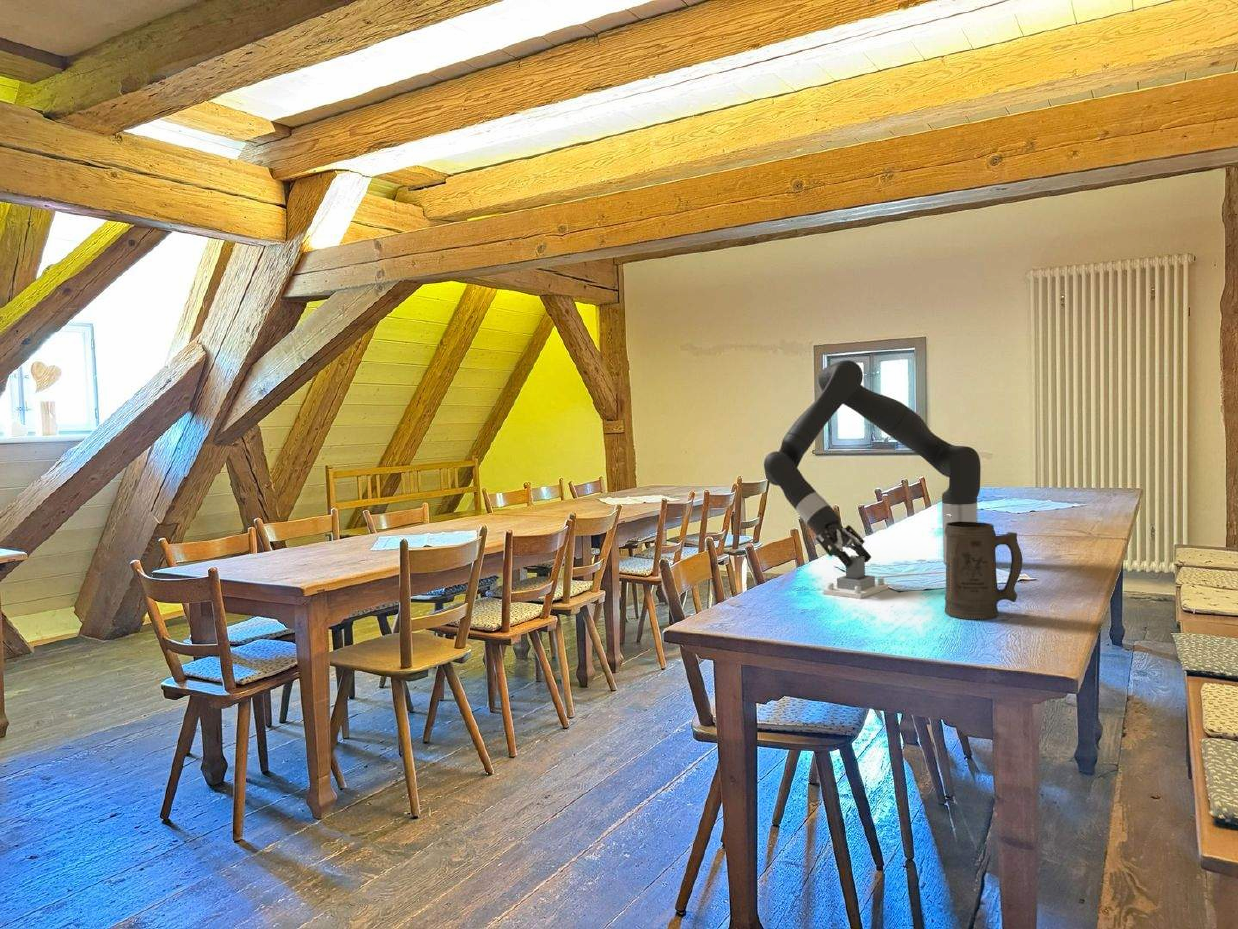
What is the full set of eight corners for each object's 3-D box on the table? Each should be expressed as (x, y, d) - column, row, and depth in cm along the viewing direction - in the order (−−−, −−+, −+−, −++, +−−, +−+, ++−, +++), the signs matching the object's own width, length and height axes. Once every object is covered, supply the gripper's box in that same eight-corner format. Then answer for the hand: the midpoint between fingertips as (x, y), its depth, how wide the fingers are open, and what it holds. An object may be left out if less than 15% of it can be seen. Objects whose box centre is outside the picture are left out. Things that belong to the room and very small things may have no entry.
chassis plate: (852, 584, 217) (852, 570, 217) (888, 588, 210) (888, 574, 210) (823, 593, 207) (822, 579, 207) (860, 598, 200) (859, 584, 200)
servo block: (854, 585, 211) (853, 553, 210) (865, 586, 209) (864, 554, 208) (846, 588, 208) (845, 556, 208) (857, 589, 206) (856, 557, 206)
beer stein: (944, 619, 177) (949, 525, 176) (937, 607, 188) (942, 518, 186) (1023, 625, 174) (1028, 529, 172) (1012, 612, 184) (1017, 522, 183)
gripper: (811, 507, 208) (854, 557, 200) (841, 501, 218) (883, 548, 210) (793, 527, 212) (835, 577, 204) (823, 520, 222) (864, 567, 214)
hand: (859, 562), depth 207 cm, fingers open, 8 cm apart
